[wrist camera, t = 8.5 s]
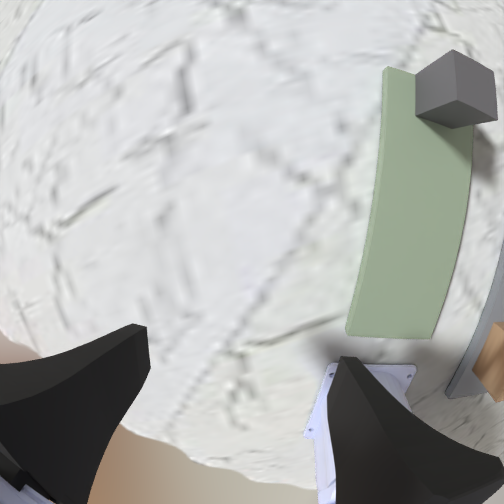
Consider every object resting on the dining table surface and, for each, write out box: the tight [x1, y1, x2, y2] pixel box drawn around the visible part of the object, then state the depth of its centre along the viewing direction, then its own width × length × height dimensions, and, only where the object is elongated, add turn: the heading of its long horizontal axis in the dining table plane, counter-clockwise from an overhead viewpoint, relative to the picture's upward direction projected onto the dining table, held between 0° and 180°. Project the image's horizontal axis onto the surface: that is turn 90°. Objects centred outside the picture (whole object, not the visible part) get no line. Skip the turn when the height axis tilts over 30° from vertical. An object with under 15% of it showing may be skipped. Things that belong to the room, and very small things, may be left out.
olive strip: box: [345, 49, 498, 339], centre depth 13 cm, size 18×7×6 cm, turn 174°
